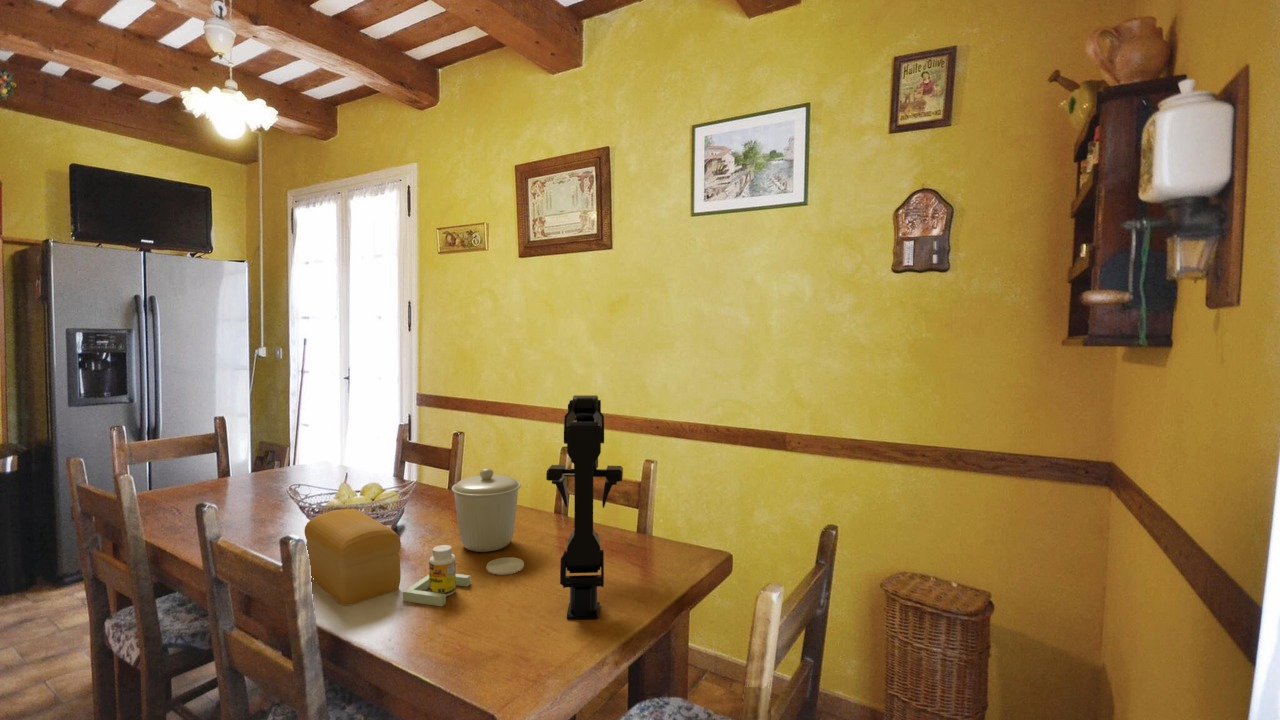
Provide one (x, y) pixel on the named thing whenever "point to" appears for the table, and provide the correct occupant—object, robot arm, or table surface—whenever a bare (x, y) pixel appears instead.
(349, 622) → the table surface
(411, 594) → the pale green u-shaped bracket
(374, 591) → the bread
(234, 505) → the table surface
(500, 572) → the coaster
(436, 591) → the supplement bottle
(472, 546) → the canister
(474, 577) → the table surface
